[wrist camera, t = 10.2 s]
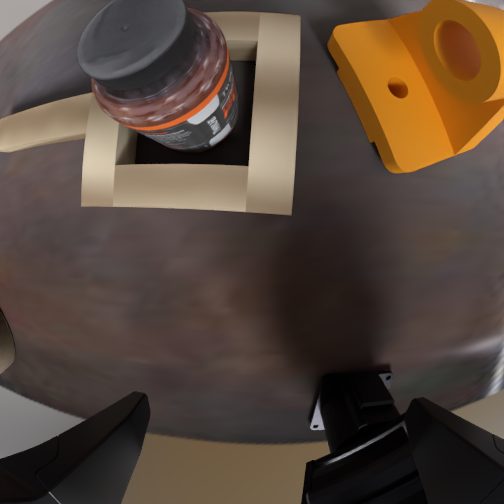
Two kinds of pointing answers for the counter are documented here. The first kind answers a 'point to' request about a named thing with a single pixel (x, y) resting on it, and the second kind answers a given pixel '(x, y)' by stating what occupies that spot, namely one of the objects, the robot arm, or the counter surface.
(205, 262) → the counter surface
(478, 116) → the bracket
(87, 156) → the wooden frame with handle
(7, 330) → the pillar candle
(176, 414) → the counter surface
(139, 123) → the supplement bottle
